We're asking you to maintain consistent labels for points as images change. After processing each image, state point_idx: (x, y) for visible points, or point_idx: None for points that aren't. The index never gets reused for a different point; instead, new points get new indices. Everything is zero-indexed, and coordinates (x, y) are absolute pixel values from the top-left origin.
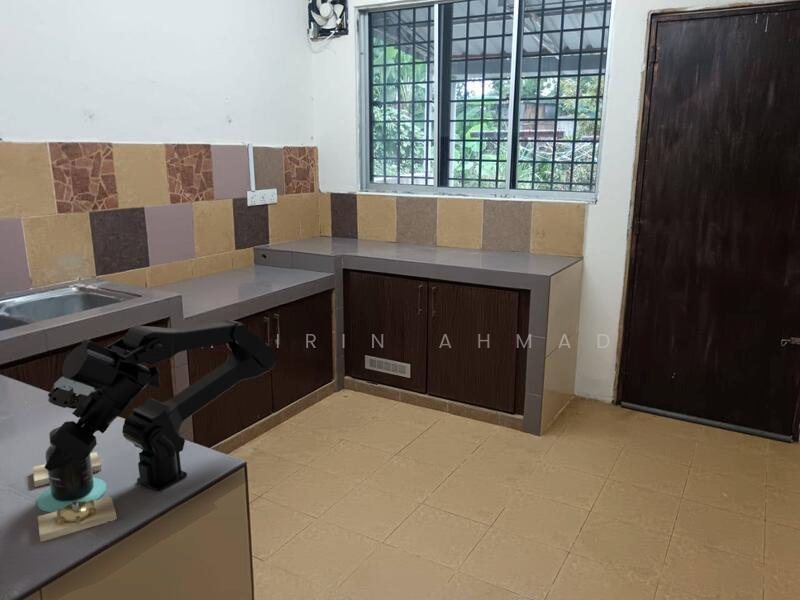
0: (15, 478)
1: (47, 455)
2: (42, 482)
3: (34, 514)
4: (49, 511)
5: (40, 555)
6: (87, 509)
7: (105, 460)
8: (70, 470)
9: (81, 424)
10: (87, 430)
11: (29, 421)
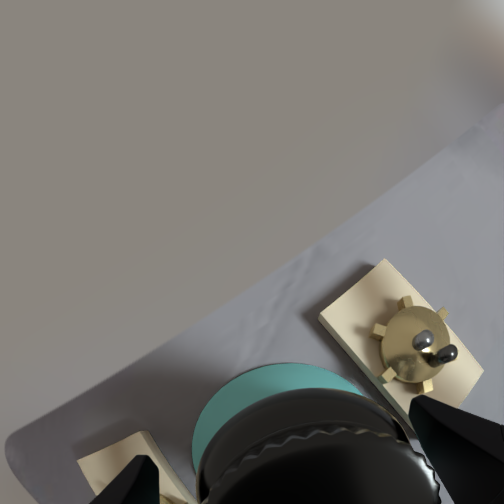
0: (347, 242)
1: (216, 435)
2: (331, 330)
3: (184, 401)
4: (193, 436)
5: (57, 468)
6: None
7: (465, 408)
8: None
9: (488, 477)
10: (465, 495)
11: (489, 151)
